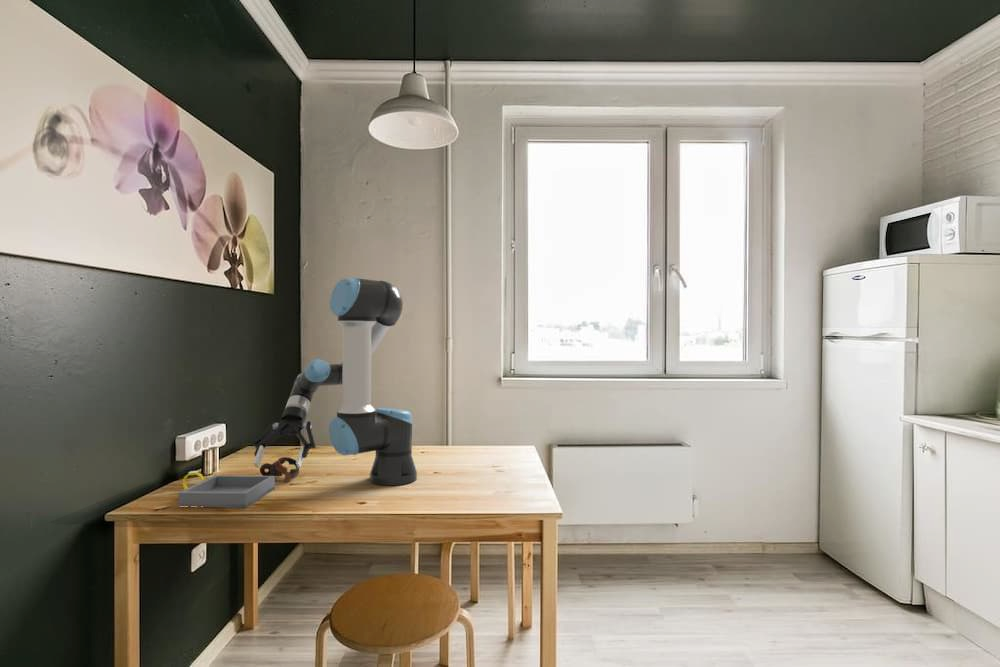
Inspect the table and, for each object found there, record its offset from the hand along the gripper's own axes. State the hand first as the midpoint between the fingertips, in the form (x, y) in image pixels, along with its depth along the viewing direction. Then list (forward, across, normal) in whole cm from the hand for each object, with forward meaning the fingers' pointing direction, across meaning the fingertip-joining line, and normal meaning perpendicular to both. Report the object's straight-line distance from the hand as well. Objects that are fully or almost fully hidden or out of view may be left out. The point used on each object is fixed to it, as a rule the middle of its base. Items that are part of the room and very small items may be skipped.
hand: (276, 465), depth 172 cm
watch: (+11, +21, +4) cm, 24 cm away
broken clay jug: (+2, 0, -6) cm, 6 cm away
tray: (+16, +7, +8) cm, 19 cm away
